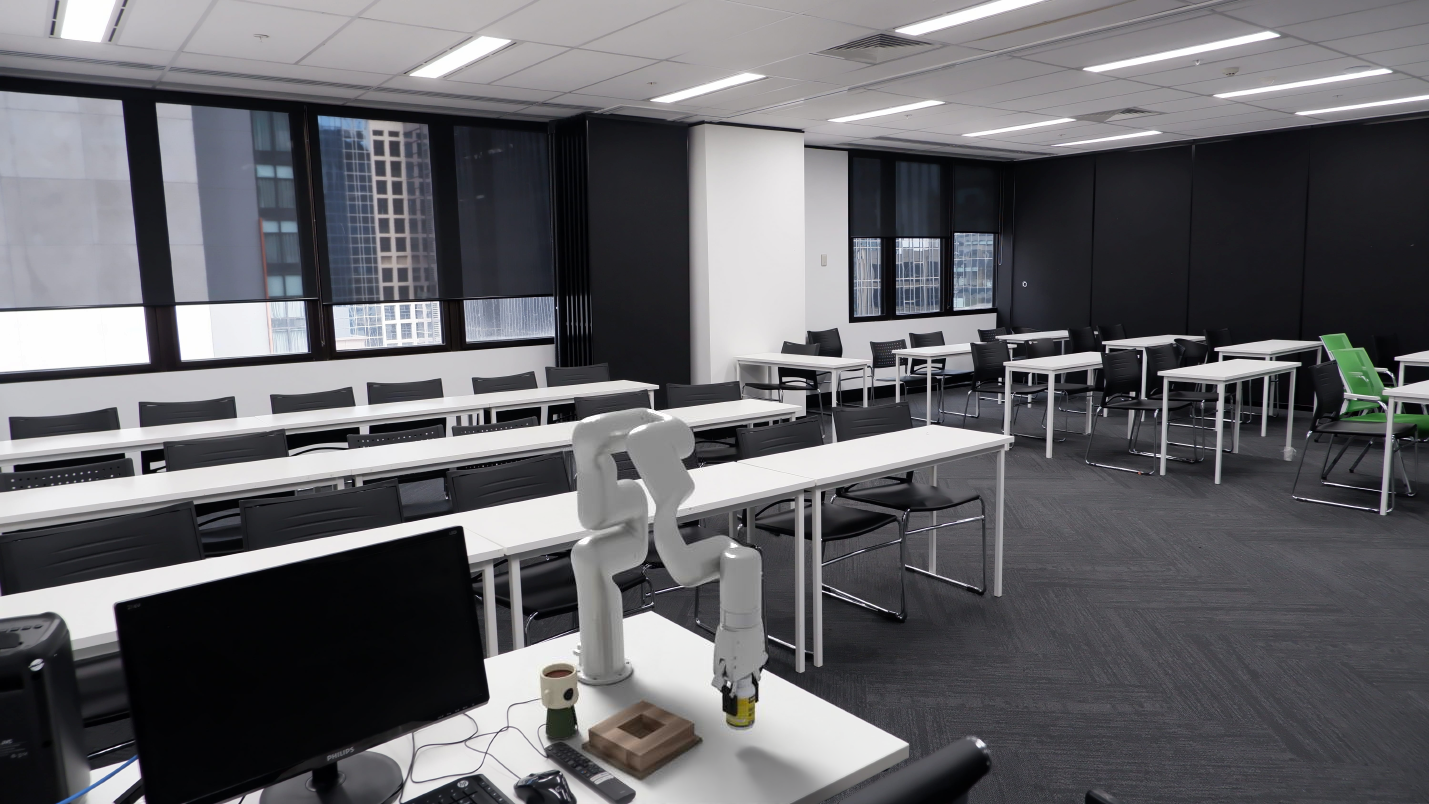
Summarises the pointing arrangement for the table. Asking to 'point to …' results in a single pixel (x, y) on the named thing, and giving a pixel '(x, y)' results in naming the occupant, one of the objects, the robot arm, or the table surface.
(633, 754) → the bottle holder
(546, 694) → the character mug
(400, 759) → the table surface
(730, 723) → the supplement bottle
